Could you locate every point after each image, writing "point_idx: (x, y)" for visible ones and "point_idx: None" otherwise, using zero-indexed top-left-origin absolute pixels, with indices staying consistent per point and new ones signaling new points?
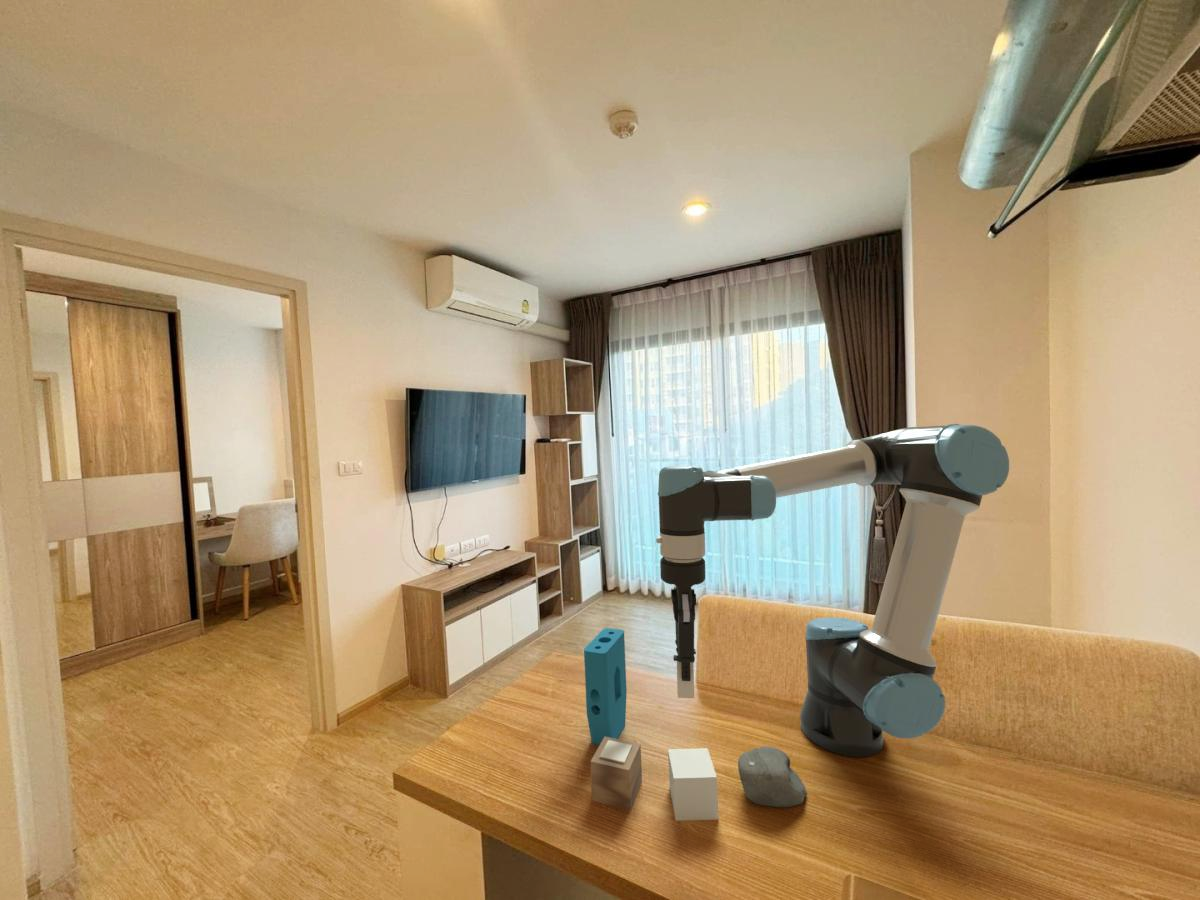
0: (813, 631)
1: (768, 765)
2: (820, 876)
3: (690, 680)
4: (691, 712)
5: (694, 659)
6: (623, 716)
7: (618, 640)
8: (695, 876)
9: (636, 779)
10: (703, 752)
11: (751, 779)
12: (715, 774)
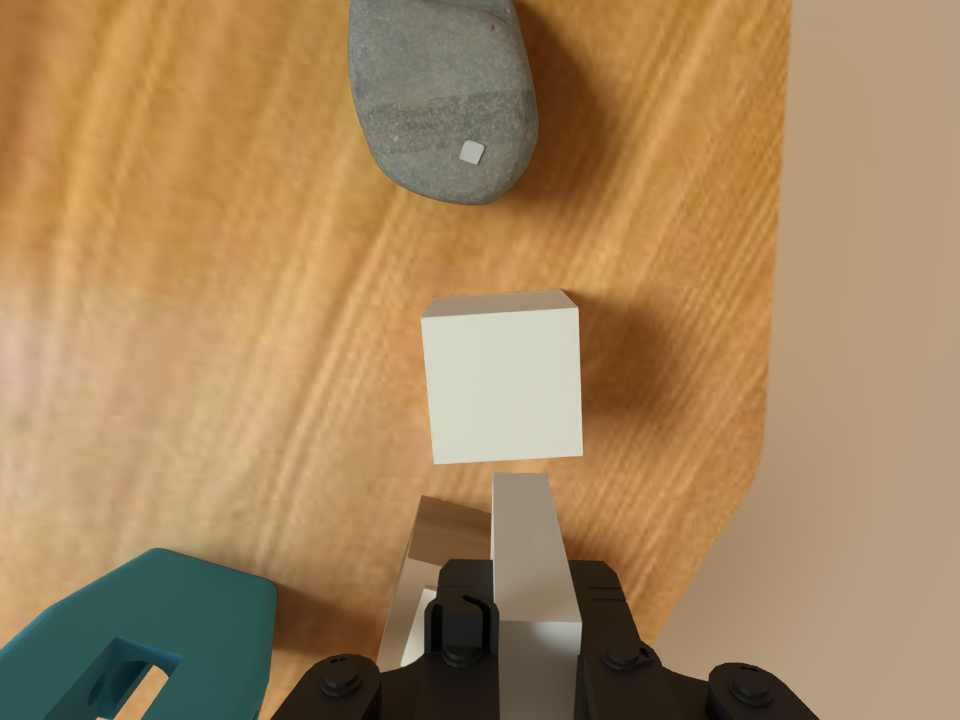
0: None
1: (484, 86)
2: (750, 43)
3: (606, 564)
4: (35, 305)
5: (768, 683)
6: (150, 574)
7: None
8: (732, 376)
9: (472, 531)
10: (446, 336)
11: (522, 169)
12: (565, 310)
